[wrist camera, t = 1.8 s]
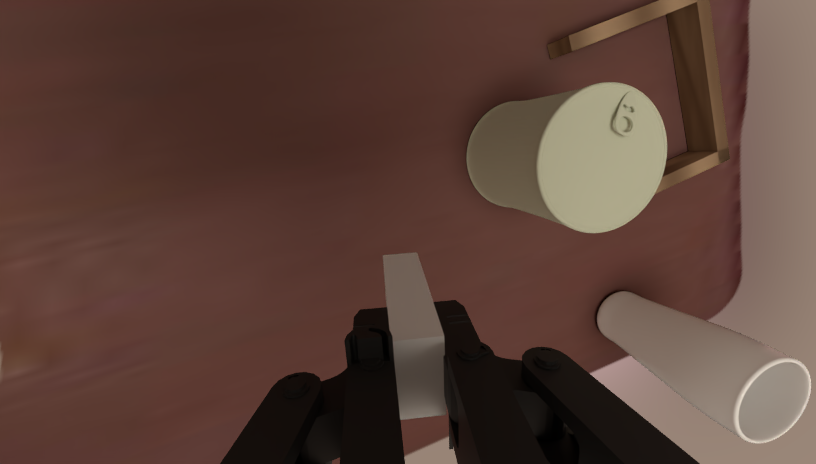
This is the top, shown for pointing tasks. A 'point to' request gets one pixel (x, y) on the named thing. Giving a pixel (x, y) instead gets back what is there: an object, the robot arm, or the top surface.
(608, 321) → the drinking glass
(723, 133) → the corral
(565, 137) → the can
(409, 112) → the top surface
